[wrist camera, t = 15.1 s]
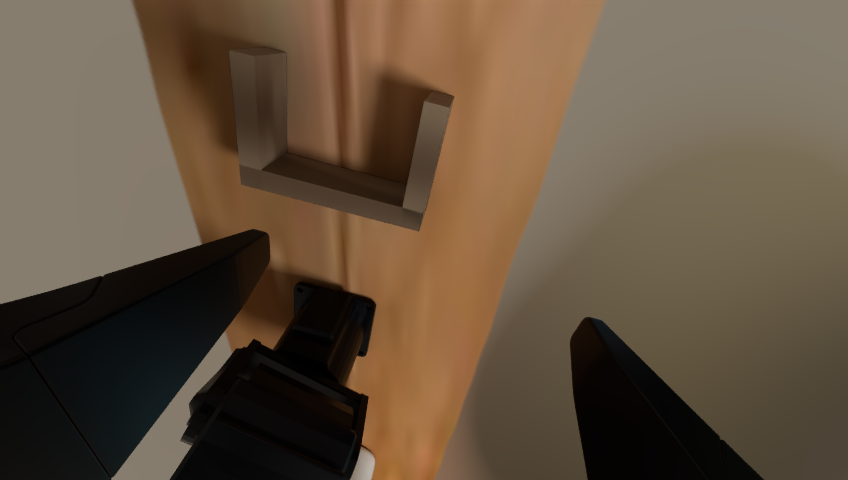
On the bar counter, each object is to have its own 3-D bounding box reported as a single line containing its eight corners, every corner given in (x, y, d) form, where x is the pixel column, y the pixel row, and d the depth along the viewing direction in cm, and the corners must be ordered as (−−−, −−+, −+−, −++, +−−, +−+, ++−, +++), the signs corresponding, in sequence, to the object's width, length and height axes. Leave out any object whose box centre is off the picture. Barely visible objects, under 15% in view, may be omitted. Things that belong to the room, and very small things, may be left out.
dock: (426, 207, 22) (419, 231, 19) (269, 166, 22) (241, 184, 19) (454, 96, 18) (449, 107, 15) (264, 46, 18) (228, 49, 15)
